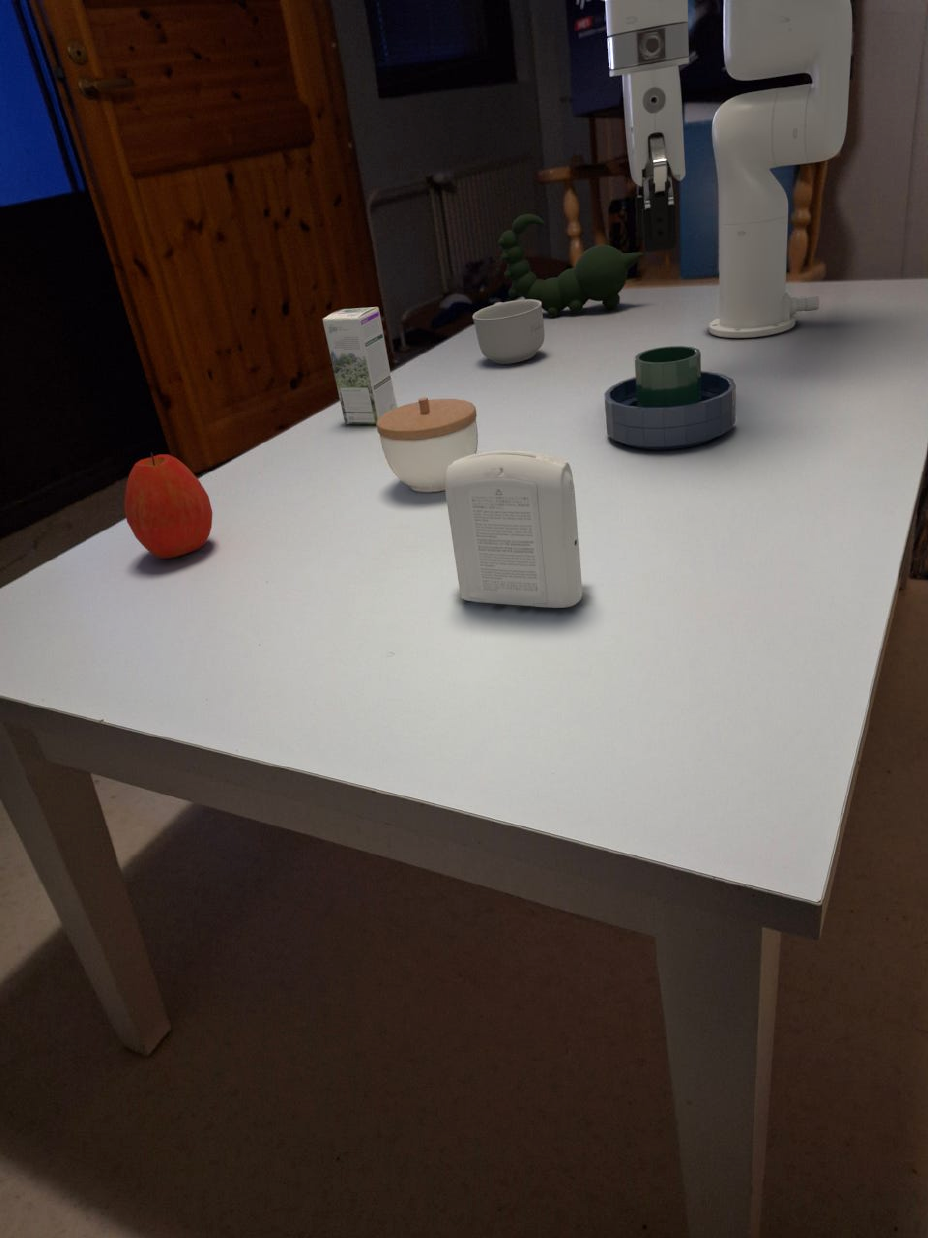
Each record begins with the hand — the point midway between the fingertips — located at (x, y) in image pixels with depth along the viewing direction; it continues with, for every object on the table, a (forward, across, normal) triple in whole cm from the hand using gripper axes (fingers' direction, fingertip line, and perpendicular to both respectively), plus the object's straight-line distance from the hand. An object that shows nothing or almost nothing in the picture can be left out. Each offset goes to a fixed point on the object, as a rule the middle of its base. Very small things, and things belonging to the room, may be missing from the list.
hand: (655, 242), depth 95 cm
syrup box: (+20, +16, +38) cm, 46 cm away
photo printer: (+20, -39, +15) cm, 46 cm away
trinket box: (+20, -11, +26) cm, 34 cm away
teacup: (+21, +42, +20) cm, 51 cm away
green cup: (+19, -2, 0) cm, 19 cm away
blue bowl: (+20, -2, -1) cm, 20 cm away
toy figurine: (+21, +70, +10) cm, 74 cm away
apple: (+20, -24, +51) cm, 59 cm away
